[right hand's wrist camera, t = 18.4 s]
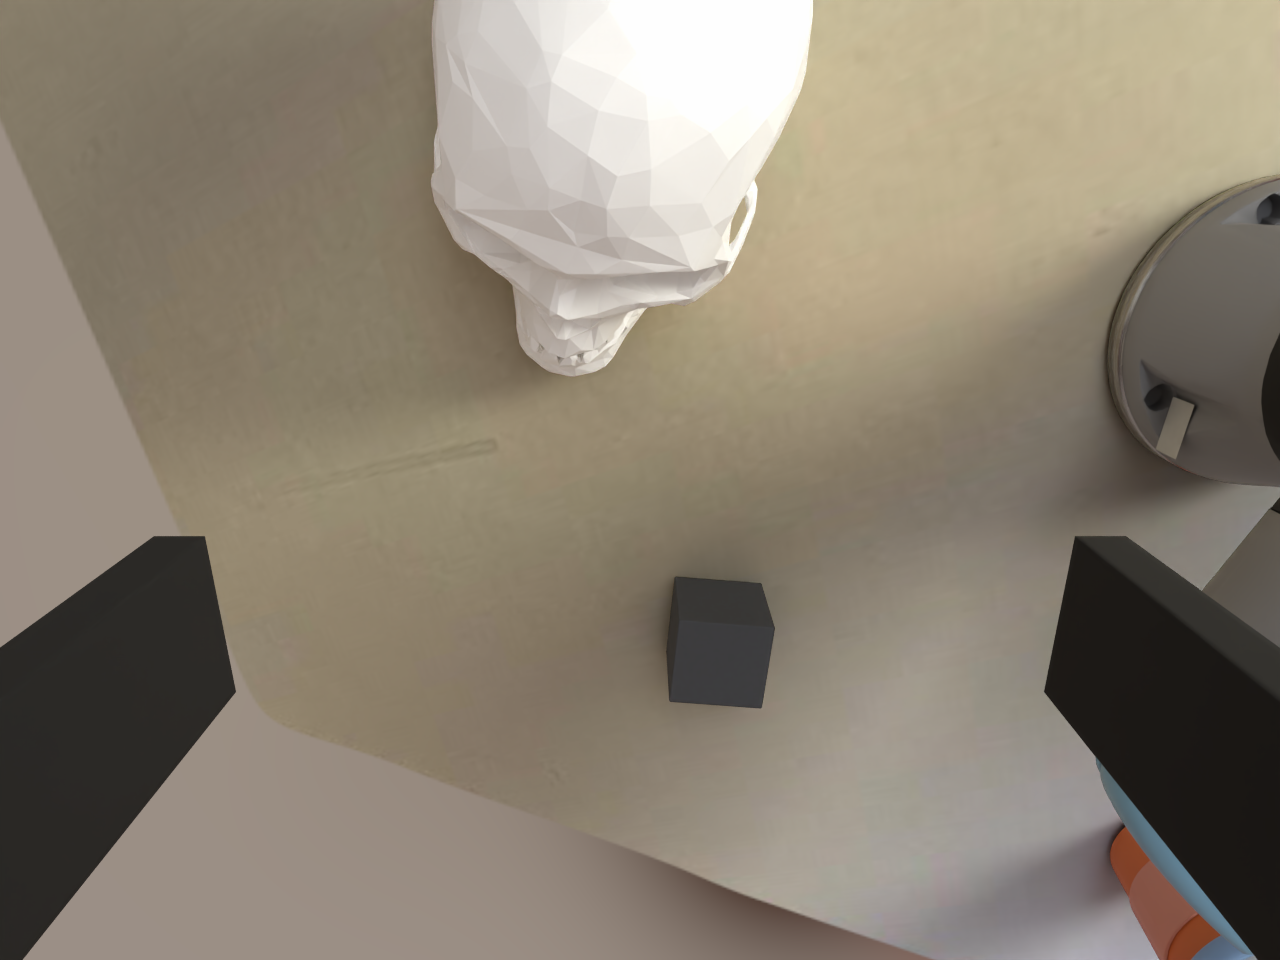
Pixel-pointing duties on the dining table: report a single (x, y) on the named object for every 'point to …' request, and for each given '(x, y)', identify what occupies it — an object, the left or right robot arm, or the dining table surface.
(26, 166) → the dining table surface
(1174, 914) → the cup with straw
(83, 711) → the right robot arm
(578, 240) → the skull
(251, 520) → the dining table surface
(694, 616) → the grey rubber block
